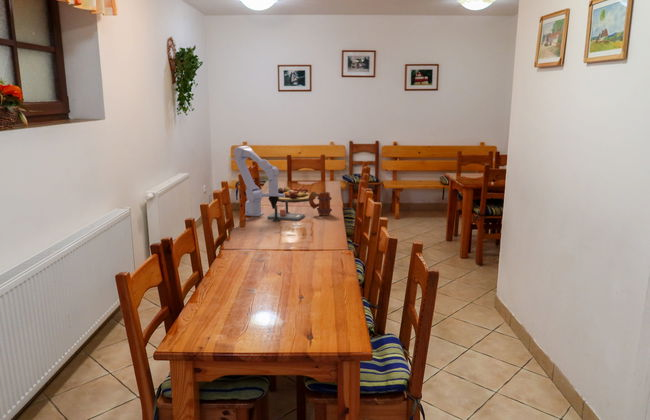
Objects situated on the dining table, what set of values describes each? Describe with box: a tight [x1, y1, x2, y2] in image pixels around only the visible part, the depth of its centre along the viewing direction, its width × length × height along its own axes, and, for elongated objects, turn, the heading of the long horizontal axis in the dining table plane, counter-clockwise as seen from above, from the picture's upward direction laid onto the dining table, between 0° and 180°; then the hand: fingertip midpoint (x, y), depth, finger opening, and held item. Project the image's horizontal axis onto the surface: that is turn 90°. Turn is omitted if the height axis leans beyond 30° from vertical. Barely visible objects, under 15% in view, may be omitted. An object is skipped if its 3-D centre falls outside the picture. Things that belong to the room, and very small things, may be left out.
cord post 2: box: [284, 200, 291, 213], centre depth 322 cm, size 4×4×9 cm
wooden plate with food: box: [277, 186, 315, 202], centre depth 377 cm, size 32×32×8 cm
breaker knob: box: [279, 208, 286, 216], centre depth 314 cm, size 3×3×4 cm
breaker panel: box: [266, 212, 306, 222], centre depth 314 cm, size 20×12×2 cm, turn 73°
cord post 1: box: [272, 205, 280, 223], centre depth 305 cm, size 4×4×9 cm
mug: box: [308, 190, 333, 217], centre depth 319 cm, size 15×8×15 cm, turn 84°
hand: (274, 208), depth 315 cm, fingers closed
